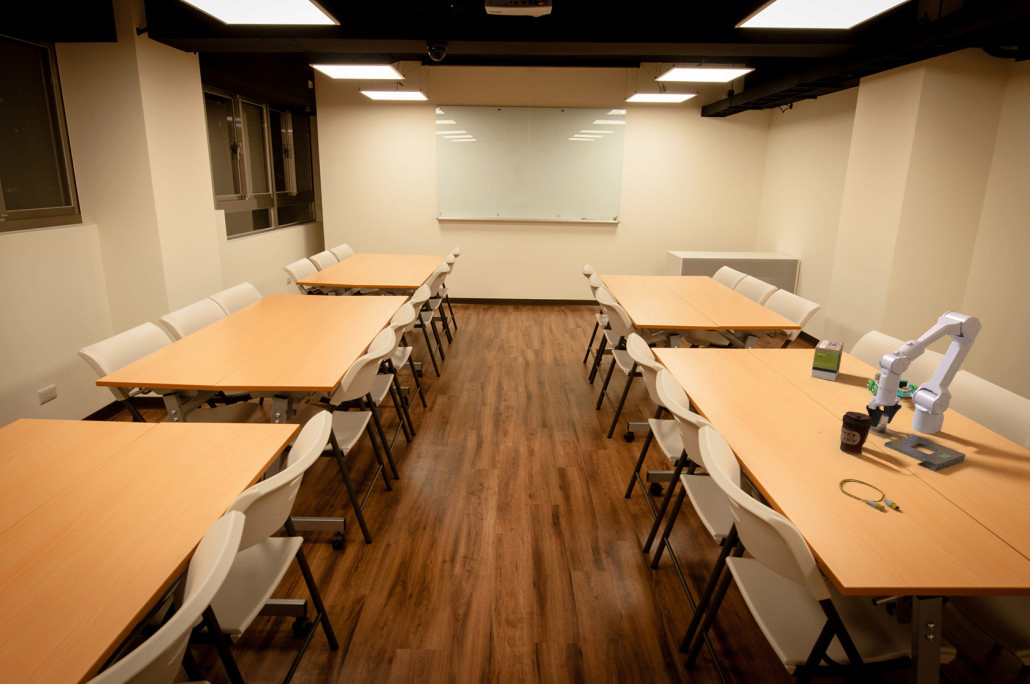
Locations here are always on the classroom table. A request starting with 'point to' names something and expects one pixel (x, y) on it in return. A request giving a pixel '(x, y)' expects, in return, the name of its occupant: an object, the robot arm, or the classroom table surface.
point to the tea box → (827, 360)
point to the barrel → (881, 424)
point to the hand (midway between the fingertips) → (879, 424)
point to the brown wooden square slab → (885, 435)
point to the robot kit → (901, 389)
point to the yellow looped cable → (872, 503)
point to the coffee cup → (854, 432)
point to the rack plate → (930, 461)
